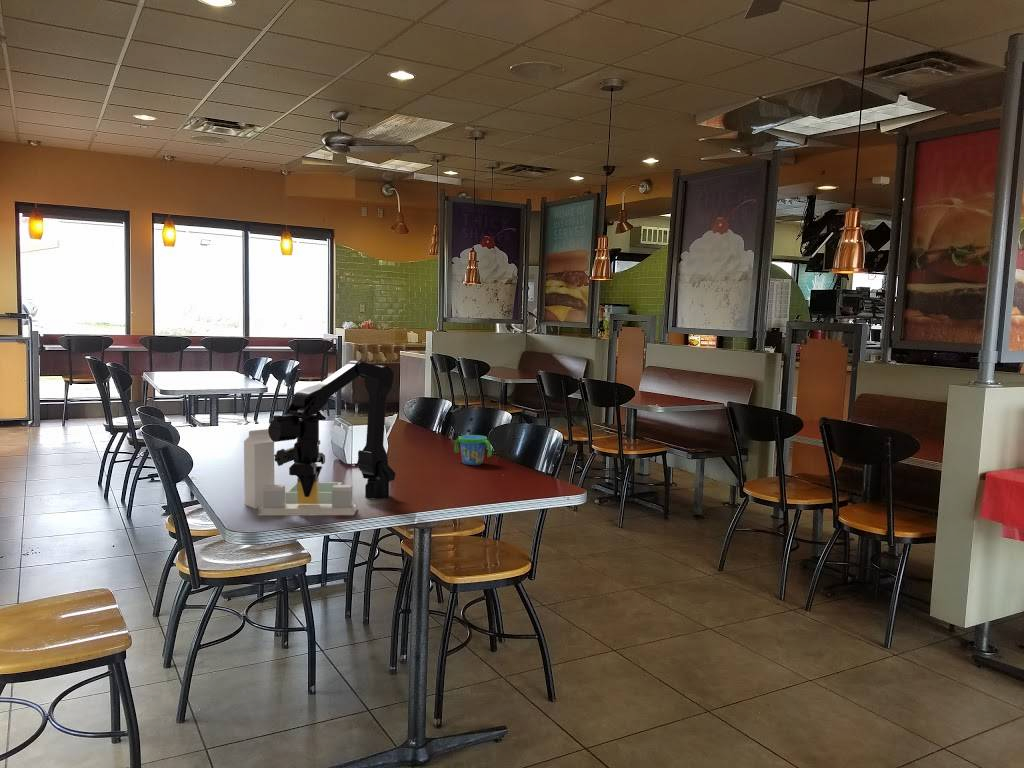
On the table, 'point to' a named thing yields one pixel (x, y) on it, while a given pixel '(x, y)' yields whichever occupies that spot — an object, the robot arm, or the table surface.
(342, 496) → the block
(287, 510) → the fuse holder
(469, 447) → the snack cup
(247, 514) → the table surface
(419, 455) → the table surface
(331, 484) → the green tray
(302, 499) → the block
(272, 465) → the milk
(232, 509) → the table surface
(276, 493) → the block
